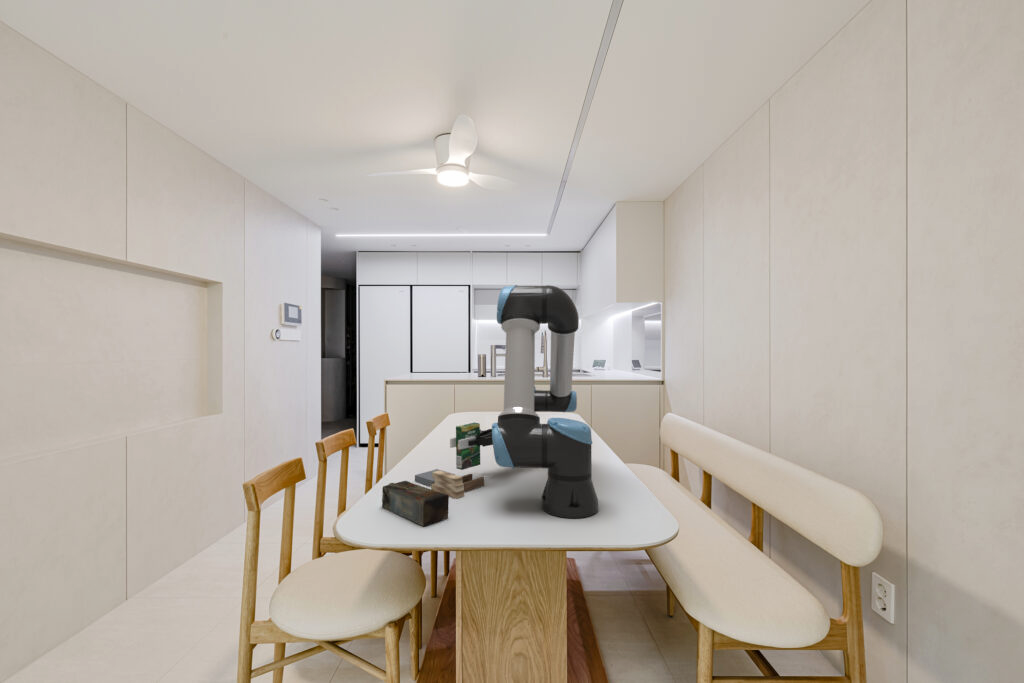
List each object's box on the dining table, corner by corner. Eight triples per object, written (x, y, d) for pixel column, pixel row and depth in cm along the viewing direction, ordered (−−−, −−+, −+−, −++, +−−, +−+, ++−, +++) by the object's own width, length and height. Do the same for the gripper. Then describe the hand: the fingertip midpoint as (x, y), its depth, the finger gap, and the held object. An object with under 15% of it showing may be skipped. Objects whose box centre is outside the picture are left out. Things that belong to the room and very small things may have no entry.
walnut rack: (484, 485, 134) (484, 477, 134) (465, 492, 128) (465, 483, 128) (470, 481, 138) (470, 473, 138) (451, 487, 132) (451, 479, 132)
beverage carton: (406, 500, 121) (406, 477, 122) (450, 519, 109) (450, 492, 109) (381, 508, 116) (381, 483, 116) (424, 529, 103) (424, 501, 103)
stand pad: (455, 480, 139) (455, 474, 139) (432, 487, 132) (432, 480, 132) (436, 475, 145) (436, 469, 145) (414, 481, 138) (414, 475, 138)
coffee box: (461, 470, 129) (461, 426, 130) (455, 468, 131) (455, 425, 132) (481, 465, 135) (480, 423, 136) (474, 463, 137) (474, 422, 138)
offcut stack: (464, 496, 124) (464, 477, 124) (456, 498, 122) (456, 479, 122) (439, 487, 132) (439, 470, 132) (431, 490, 129) (431, 472, 129)
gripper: (525, 447, 142) (473, 461, 124) (489, 440, 152) (437, 452, 134) (525, 424, 142) (473, 434, 124) (489, 419, 152) (437, 428, 135)
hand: (455, 443), depth 129 cm, fingers closed on coffee box, 3 cm apart
